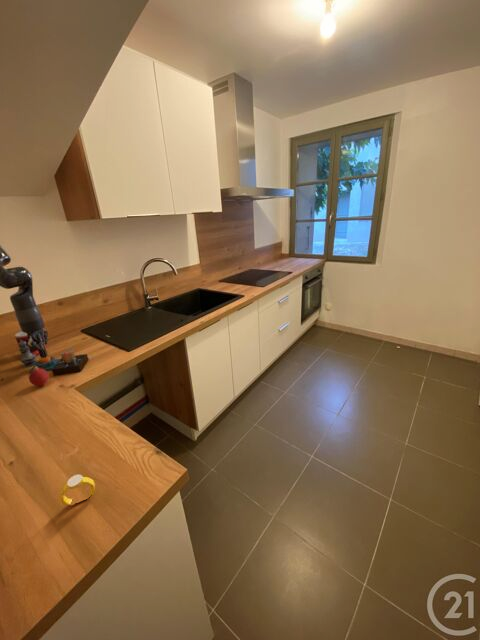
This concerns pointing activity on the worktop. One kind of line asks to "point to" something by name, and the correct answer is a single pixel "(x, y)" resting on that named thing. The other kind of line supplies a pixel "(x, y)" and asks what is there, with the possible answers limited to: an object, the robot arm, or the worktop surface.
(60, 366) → the black square tray
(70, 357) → the hob knob
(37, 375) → the red round piece
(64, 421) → the worktop surface
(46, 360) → the ignition button
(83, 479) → the watch
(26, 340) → the canned food
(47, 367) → the ignition block
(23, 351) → the grey chess piece
